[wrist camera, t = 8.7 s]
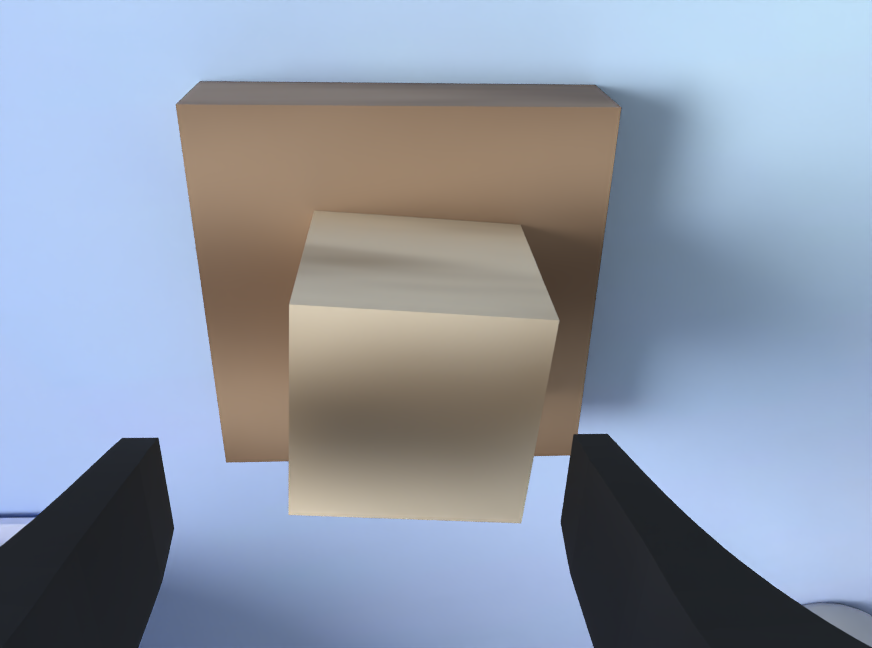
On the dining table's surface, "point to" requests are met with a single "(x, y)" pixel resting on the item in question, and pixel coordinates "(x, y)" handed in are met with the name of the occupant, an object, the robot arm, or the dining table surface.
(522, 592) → the dining table surface
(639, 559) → the robot arm
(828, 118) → the dining table surface
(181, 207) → the dining table surface
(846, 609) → the cup
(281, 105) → the walnut block
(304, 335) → the maple block
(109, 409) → the dining table surface
